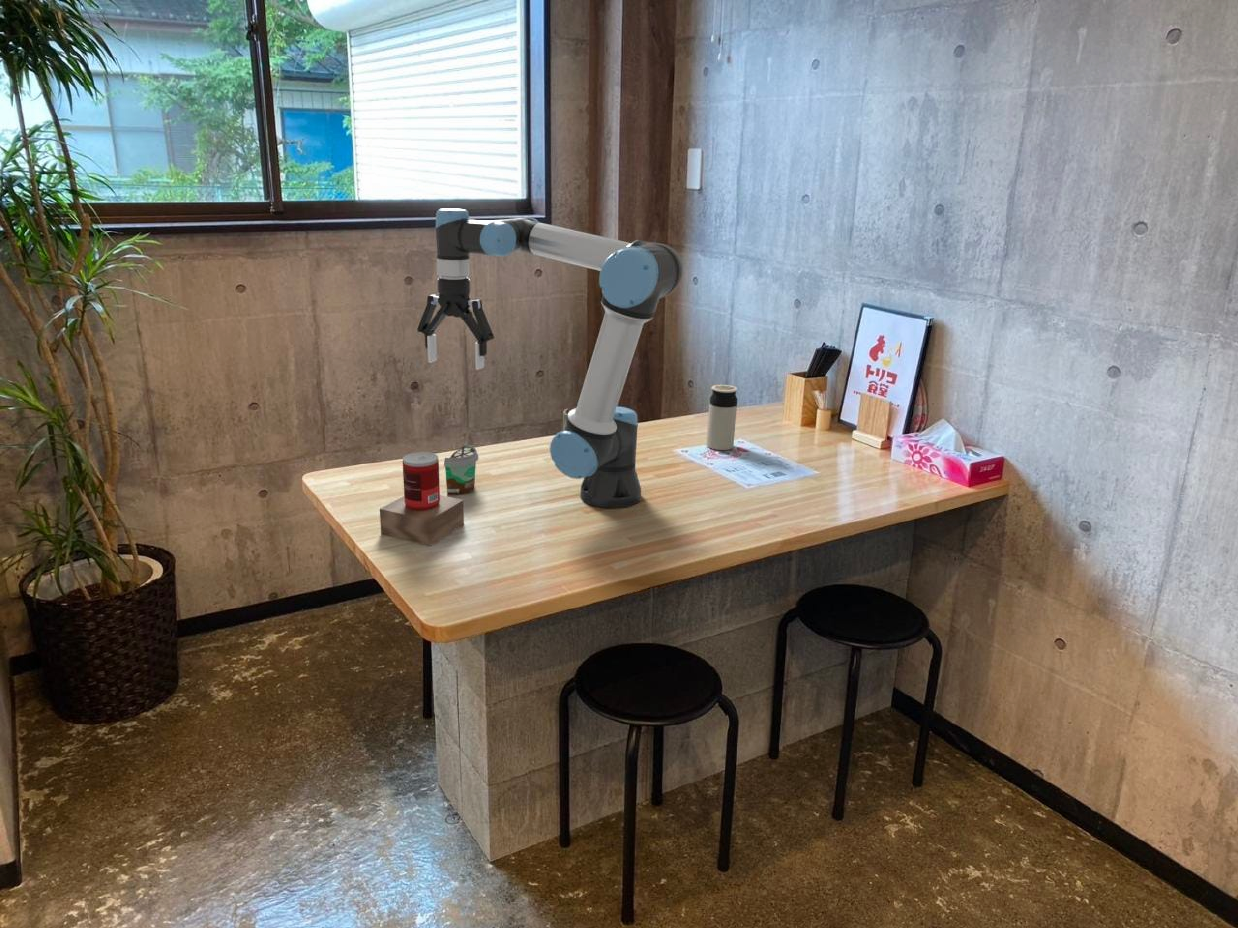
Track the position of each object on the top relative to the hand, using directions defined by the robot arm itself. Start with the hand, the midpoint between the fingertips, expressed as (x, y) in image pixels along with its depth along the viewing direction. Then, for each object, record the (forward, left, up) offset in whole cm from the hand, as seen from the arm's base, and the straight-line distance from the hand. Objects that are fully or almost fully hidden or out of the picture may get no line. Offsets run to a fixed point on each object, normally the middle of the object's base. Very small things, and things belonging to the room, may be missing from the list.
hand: (456, 365), depth 215 cm
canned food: (-9, +28, -25) cm, 38 cm away
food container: (-4, +3, -31) cm, 31 cm away
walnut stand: (-9, +28, -31) cm, 43 cm away
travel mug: (-50, -62, -31) cm, 85 cm away
